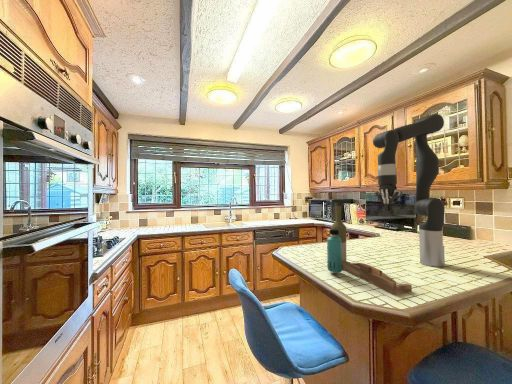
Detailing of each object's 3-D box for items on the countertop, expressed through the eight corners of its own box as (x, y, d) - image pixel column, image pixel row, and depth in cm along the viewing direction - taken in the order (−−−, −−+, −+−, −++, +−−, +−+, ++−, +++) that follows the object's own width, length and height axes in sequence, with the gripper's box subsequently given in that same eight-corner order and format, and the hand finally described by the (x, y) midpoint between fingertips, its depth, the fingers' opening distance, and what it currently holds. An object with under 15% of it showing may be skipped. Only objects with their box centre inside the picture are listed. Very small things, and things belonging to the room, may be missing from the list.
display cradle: (357, 267, 105) (357, 255, 106) (412, 292, 78) (411, 275, 78) (342, 269, 103) (342, 256, 103) (393, 294, 76) (392, 277, 76)
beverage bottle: (342, 271, 100) (341, 228, 100) (343, 277, 94) (342, 230, 94) (327, 270, 102) (326, 227, 102) (327, 275, 96) (326, 230, 96)
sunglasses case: (399, 283, 86) (391, 269, 85) (385, 293, 85) (377, 279, 85) (371, 268, 104) (364, 256, 103) (359, 276, 103) (352, 264, 103)
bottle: (349, 266, 107) (348, 205, 107) (341, 269, 103) (340, 206, 103) (337, 263, 112) (336, 205, 113) (328, 266, 108) (327, 206, 109)
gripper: (406, 173, 95) (408, 212, 95) (381, 175, 108) (383, 210, 108) (393, 173, 93) (394, 213, 93) (369, 176, 106) (370, 211, 106)
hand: (388, 211), depth 100 cm, fingers closed
